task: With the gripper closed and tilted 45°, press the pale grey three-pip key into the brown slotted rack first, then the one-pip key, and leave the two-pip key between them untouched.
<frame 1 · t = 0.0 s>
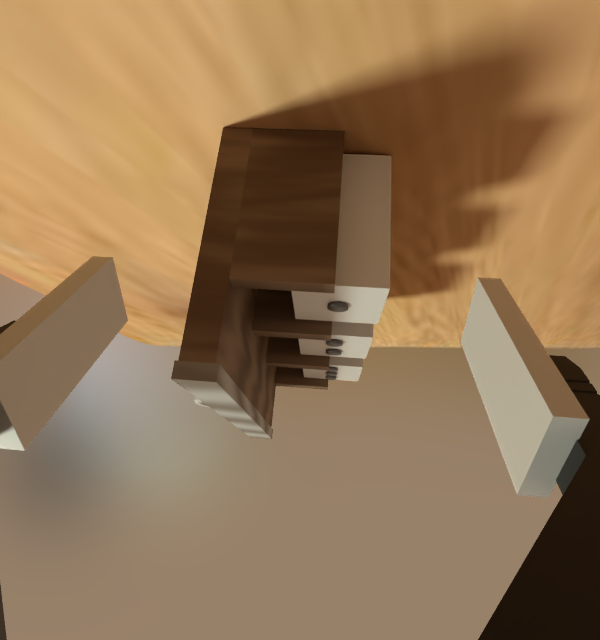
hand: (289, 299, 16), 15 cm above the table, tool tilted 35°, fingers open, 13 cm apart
key one: (341, 241, 31), point 5 cm above the table, slide at 0.0 cm
brown slotted rack: (294, 241, 41), on the table
key two: (337, 294, 39), point 5 cm above the table, slide at 0.0 cm
key three: (334, 328, 47), point 5 cm above the table, slide at 0.0 cm
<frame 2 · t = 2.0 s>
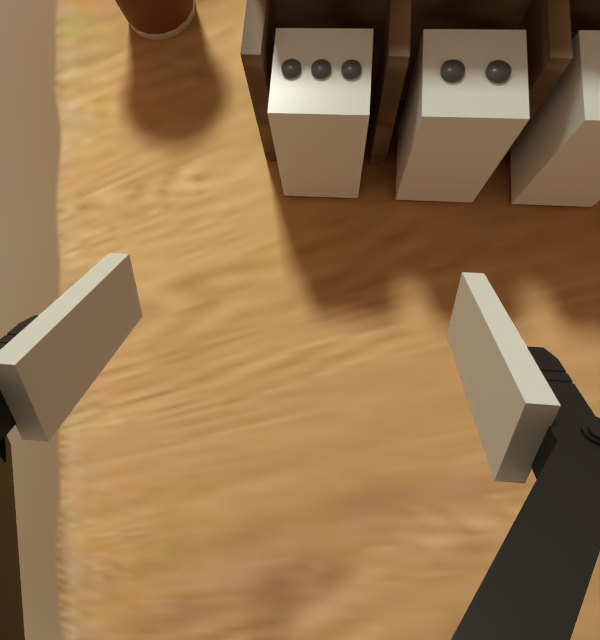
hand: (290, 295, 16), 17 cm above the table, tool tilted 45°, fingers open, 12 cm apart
key one: (586, 129, 29), point 5 cm above the table, slide at 0.0 cm
brown slotted rack: (434, 121, 36), on the table
key two: (451, 126, 30), point 5 cm above the table, slide at 0.0 cm
key three: (322, 123, 31), point 5 cm above the table, slide at 0.0 cm
coffee cup: (162, 13, 41), on the table
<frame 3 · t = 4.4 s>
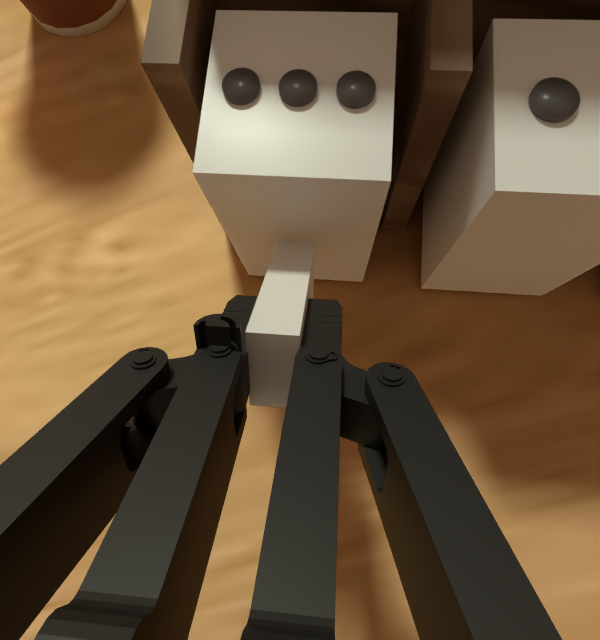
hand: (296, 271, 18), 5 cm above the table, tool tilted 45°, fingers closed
brown slotted rack: (478, 165, 24), on the table
key two: (524, 187, 18), point 5 cm above the table, slide at 0.0 cm
key three: (305, 174, 18), point 5 cm above the table, slide at 0.2 cm, touching gripper
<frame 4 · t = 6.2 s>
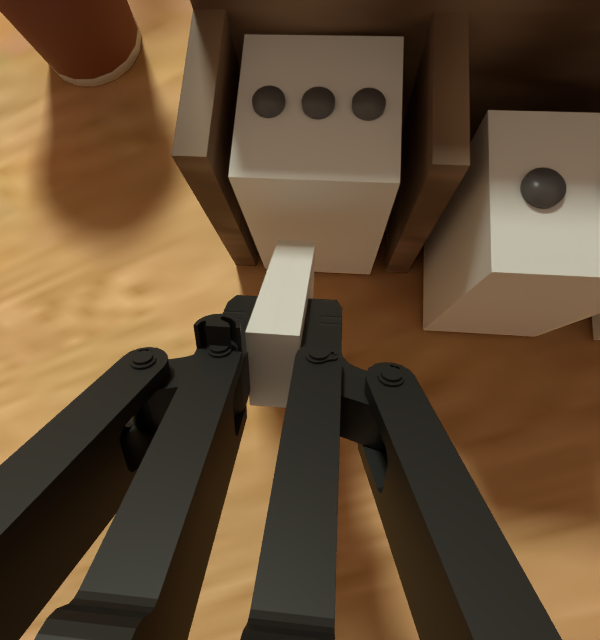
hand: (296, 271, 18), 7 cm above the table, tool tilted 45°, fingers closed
brown slotted rack: (475, 211, 25), on the table
key two: (517, 246, 19), point 5 cm above the table, slide at 0.0 cm
key three: (319, 176, 21), point 5 cm above the table, slide at 3.0 cm
coffee cup: (96, 48, 30), on the table
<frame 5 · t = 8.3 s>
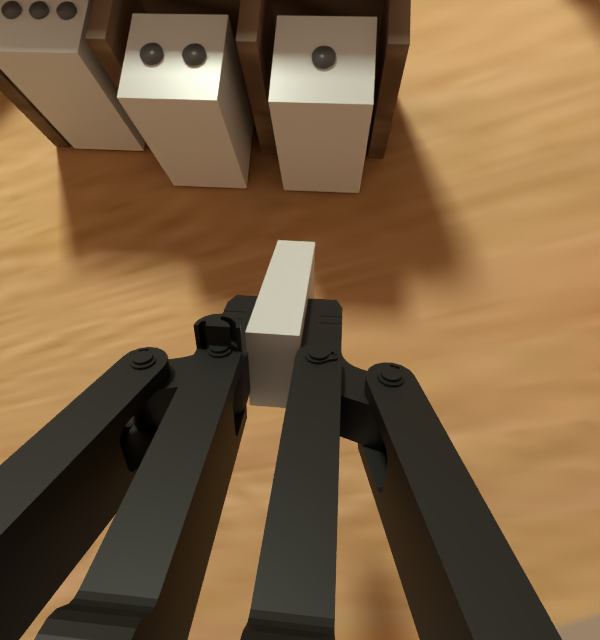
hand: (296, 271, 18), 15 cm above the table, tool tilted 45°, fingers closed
key one: (323, 115, 30), point 5 cm above the table, slide at 0.0 cm
brown slotted rack: (220, 109, 37), on the table
key two: (196, 111, 31), point 5 cm above the table, slide at 0.0 cm
key three: (82, 72, 32), point 5 cm above the table, slide at 3.0 cm
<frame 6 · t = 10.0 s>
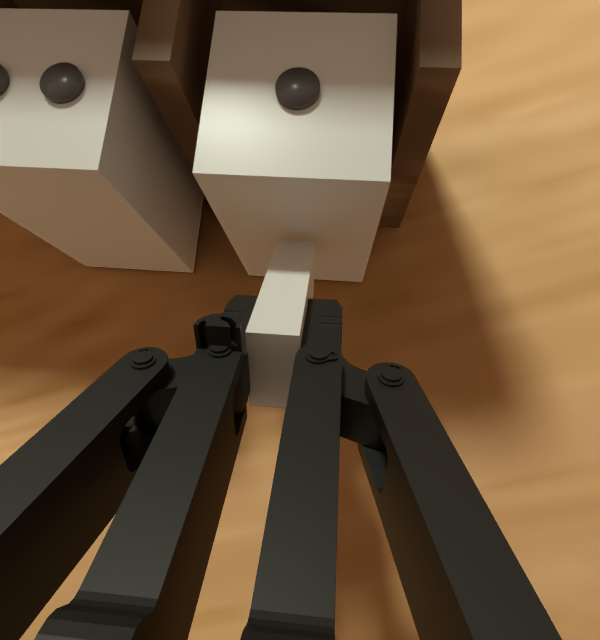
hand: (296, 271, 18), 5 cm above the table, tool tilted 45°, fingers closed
key one: (304, 174, 18), point 5 cm above the table, slide at 0.0 cm, touching gripper
brown slotted rack: (160, 150, 25), on the table
key two: (101, 166, 19), point 5 cm above the table, slide at 0.0 cm
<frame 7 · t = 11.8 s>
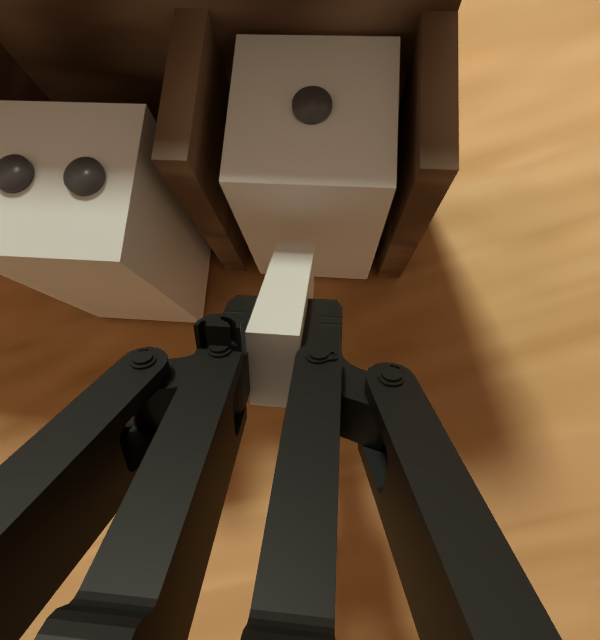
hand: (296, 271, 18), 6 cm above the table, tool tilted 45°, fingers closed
key one: (314, 180, 20), point 5 cm above the table, slide at 3.0 cm
brown slotted rack: (168, 202, 26), on the table
key two: (115, 233, 20), point 5 cm above the table, slide at 0.0 cm
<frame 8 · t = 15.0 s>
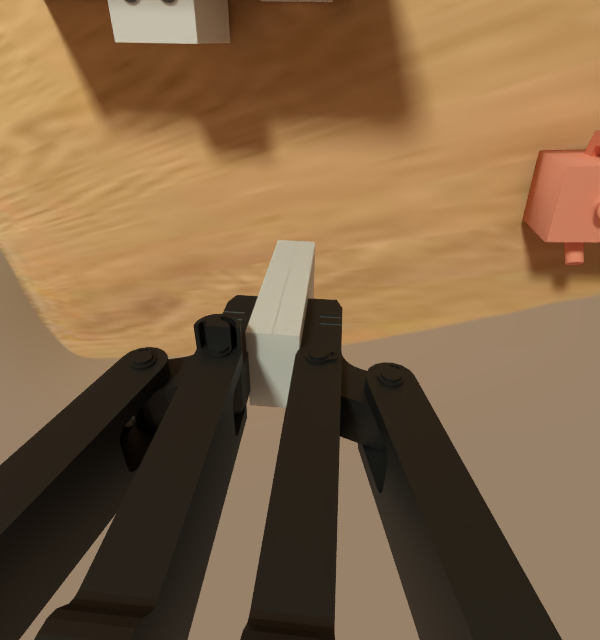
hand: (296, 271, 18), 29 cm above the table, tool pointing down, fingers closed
pink cube teapot: (566, 188, 43), on the table
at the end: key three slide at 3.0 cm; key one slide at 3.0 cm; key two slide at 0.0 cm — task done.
